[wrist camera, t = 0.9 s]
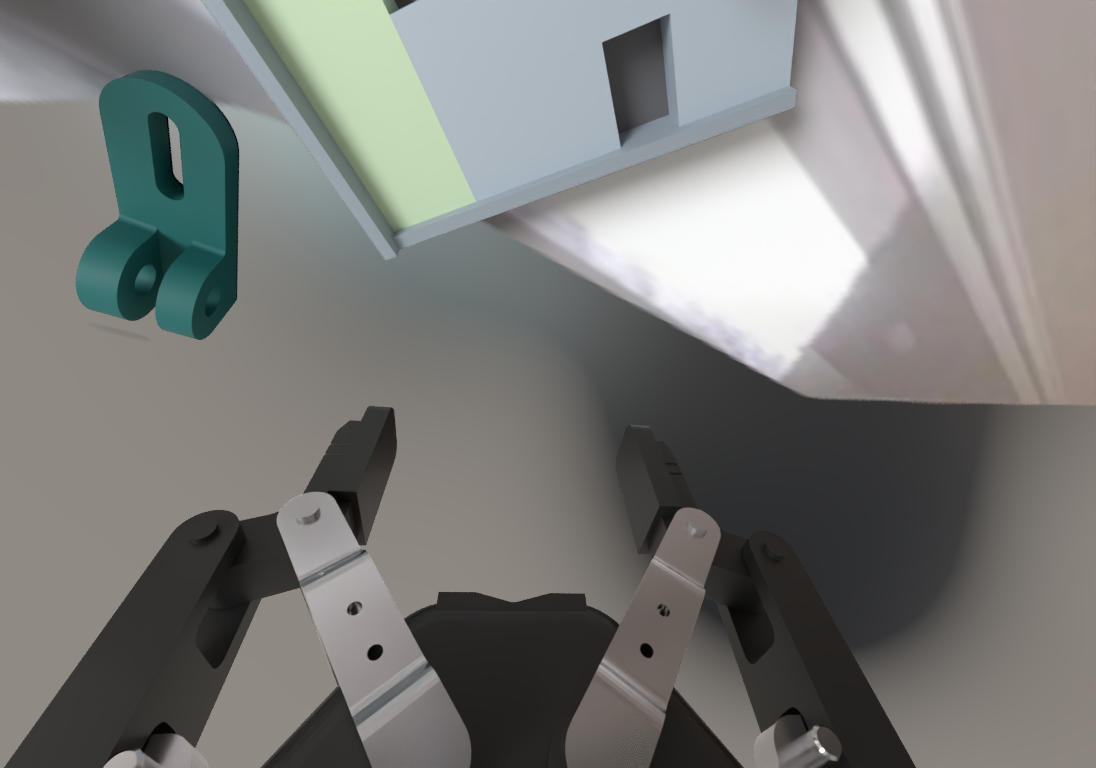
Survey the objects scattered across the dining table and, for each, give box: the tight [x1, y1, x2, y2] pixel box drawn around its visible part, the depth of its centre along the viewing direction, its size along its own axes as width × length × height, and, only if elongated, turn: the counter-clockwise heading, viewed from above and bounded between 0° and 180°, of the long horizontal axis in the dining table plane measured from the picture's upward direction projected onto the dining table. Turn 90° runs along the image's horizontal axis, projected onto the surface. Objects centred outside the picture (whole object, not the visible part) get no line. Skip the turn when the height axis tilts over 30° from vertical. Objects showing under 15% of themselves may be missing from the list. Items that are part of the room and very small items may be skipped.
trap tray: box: [201, 0, 798, 260], centre depth 23 cm, size 19×30×5 cm, turn 108°
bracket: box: [76, 70, 239, 340], centre depth 30 cm, size 18×7×8 cm, turn 151°
